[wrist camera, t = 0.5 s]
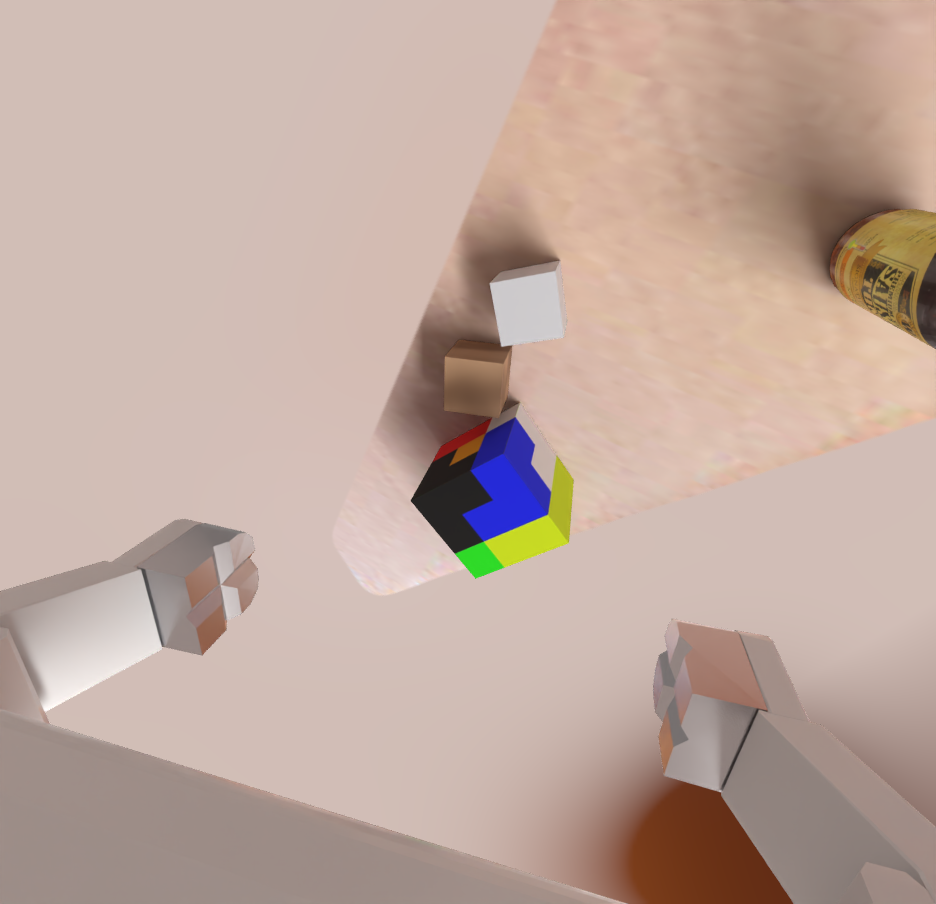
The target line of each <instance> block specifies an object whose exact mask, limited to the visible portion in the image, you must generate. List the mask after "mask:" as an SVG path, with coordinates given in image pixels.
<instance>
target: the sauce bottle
mask: <svg viewBox="0 0 936 904" xmlns="http://www.w3.org/2000/svg"><path fill="white" fill-rule="evenodd" d="M830 273H831V274H830V277H831V279H832V280H833V284H834V286H835V287H836V288H837V289H838V290H839V291H840V292H841V294H842V295H843V296H844V297H845V298H846V299H848V300H849V301H851V302H853V303H855V304H856V305H858V306H860V307H862V308H863V309H865V310H867V311H869V312H870V313H872V314H874V315H876V316H878V317H879V318H881V319H883V320H884V321H886V322H888V323H890V324H892V325H894V326H896V327H897V328H899V329H901V330H903V331H905V332H906V333H908V334H910V335H912V336H913V337H915V338H917V339H919V340H920V341H922V342H924V343H926V344H927V345H929V346H931V347H933V348H935V349H936V213H933V212H927V211H922V210H917V209H907V210H900V209H894V210H886V211H883V212H880V213H876V214H874V215H871V216H869V217H867V218H864V219H862V220H861V221H860V222H858V223H856V224H855V225H853V226H852V227H851V228H850V229H849V230H848V231H846V233H845V234H844V235H843V236H842V237H841V238H840V240H839V241H838V243H837V244H836V246H835V248H834V250H833V252H832V255H831V261H830Z"/></svg>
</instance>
